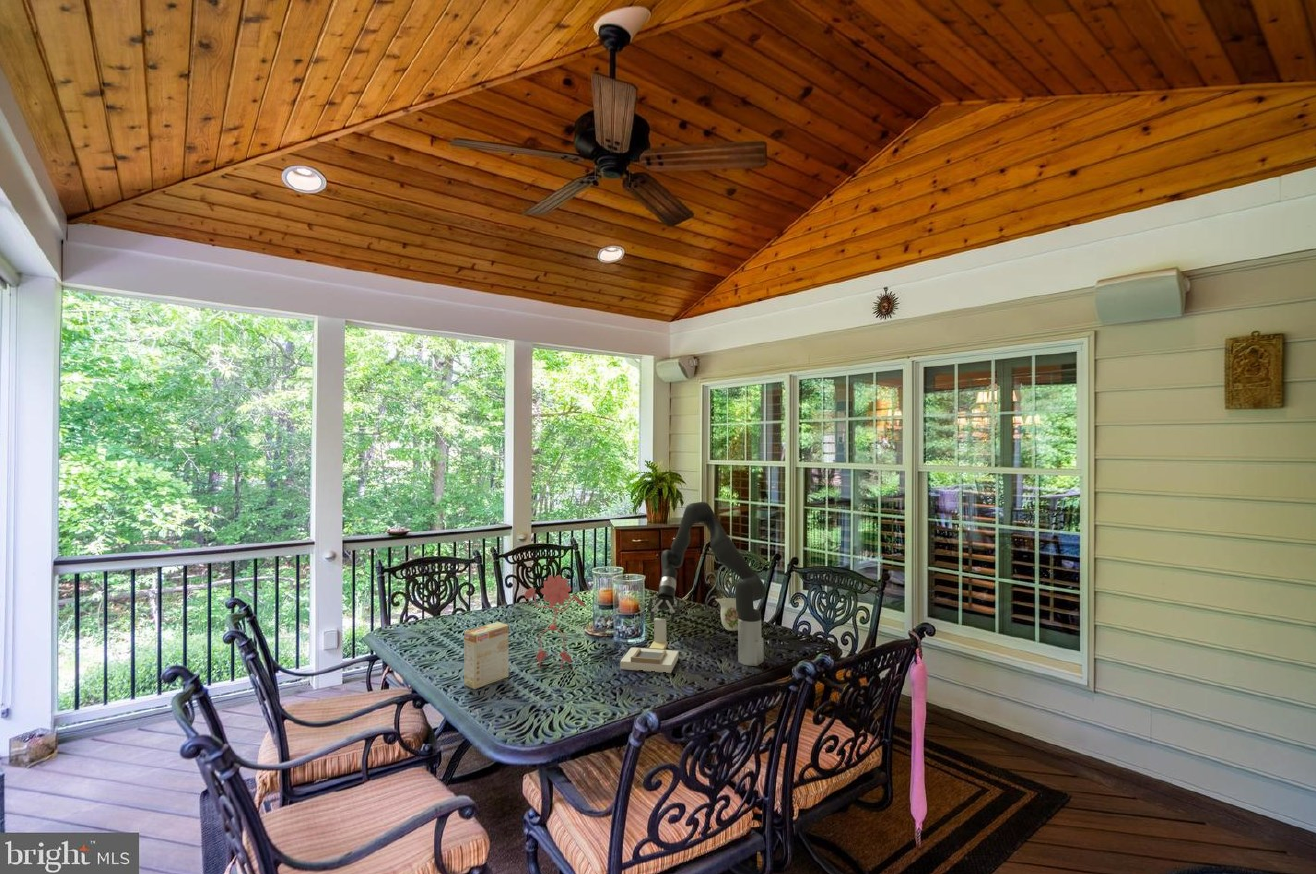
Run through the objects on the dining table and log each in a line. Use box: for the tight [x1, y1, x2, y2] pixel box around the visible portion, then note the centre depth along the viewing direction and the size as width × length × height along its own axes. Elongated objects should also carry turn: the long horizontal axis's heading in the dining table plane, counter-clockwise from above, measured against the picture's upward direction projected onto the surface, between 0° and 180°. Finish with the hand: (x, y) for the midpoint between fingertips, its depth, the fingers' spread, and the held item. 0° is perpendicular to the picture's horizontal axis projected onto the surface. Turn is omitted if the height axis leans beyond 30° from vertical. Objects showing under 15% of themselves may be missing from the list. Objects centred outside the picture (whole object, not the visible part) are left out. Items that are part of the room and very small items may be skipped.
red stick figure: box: [524, 574, 586, 671], centre depth 235 cm, size 15×26×35 cm, turn 79°
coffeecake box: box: [463, 621, 510, 690], centre depth 216 cm, size 15×7×20 cm, turn 141°
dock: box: [619, 646, 680, 674], centre depth 232 cm, size 20×16×5 cm
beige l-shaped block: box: [649, 617, 669, 650], centre depth 247 cm, size 9×6×12 cm
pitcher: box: [715, 597, 738, 632], centre depth 277 cm, size 11×18×14 cm, turn 86°
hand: (661, 621), depth 254 cm, fingers open, 8 cm apart
